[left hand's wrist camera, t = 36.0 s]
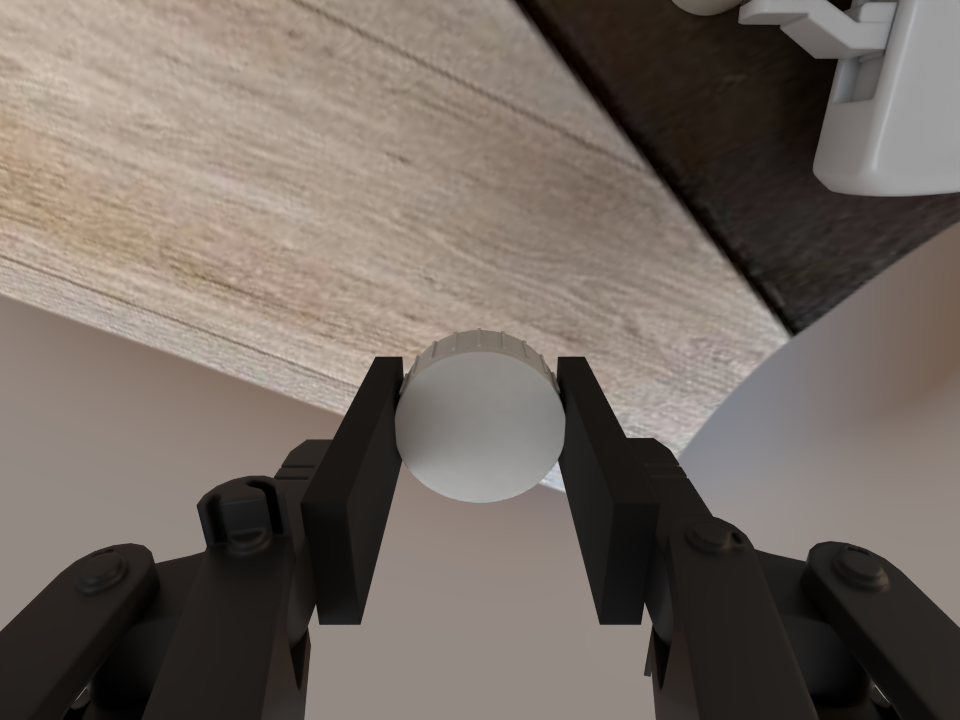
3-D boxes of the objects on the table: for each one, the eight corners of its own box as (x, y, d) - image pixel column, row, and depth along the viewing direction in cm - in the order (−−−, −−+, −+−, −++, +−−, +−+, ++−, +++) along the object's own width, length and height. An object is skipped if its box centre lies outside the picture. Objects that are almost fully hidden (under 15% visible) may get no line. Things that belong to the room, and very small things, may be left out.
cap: (517, 489, 16) (521, 526, 14) (378, 436, 15) (367, 469, 14) (587, 366, 14) (600, 392, 13) (436, 301, 14) (430, 320, 12)
